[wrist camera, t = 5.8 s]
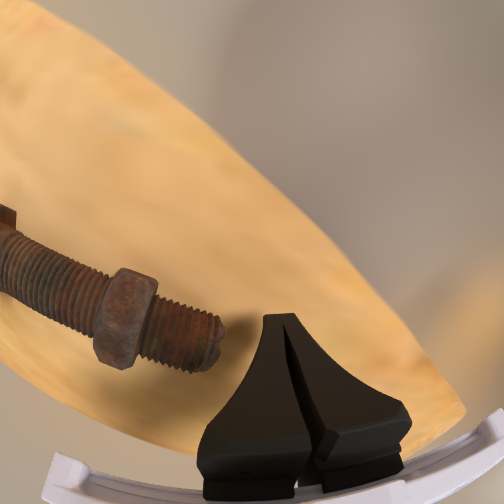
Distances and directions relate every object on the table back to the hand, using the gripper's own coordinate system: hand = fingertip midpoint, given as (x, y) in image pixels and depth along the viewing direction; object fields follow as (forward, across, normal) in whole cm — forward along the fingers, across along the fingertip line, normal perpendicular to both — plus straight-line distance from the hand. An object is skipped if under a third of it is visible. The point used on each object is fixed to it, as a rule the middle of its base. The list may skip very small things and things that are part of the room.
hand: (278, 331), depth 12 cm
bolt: (+3, +10, -2) cm, 10 cm away
